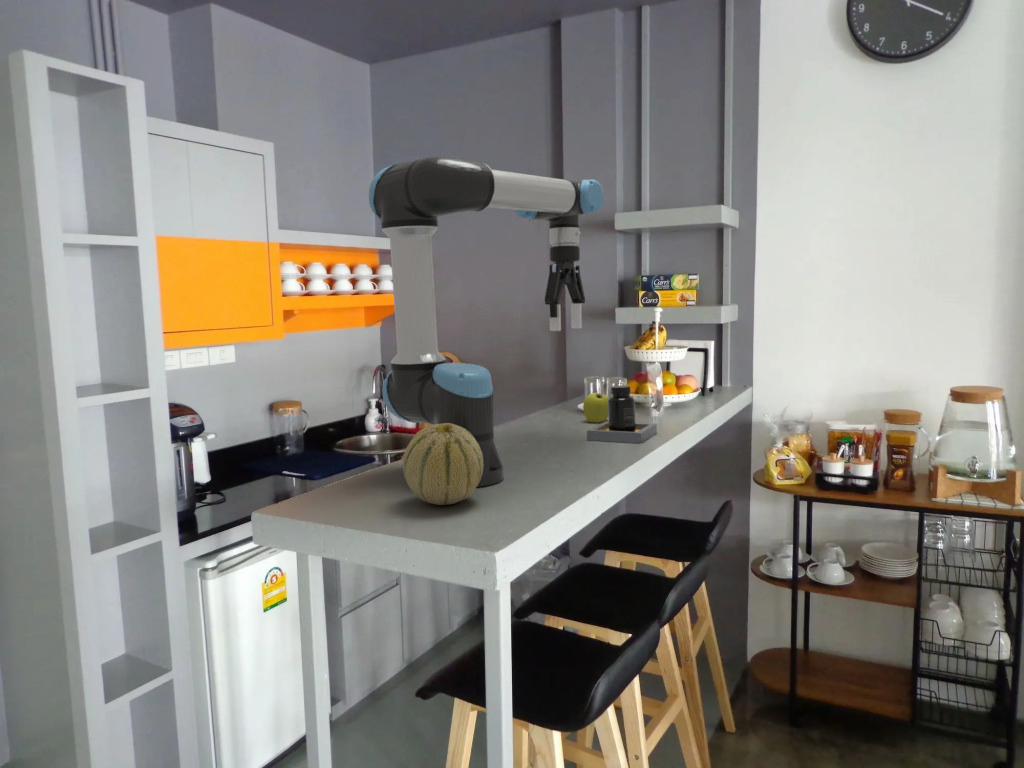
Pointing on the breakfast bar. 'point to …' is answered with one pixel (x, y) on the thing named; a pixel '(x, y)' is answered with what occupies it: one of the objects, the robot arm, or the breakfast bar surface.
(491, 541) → the breakfast bar surface
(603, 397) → the apple
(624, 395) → the supplement bottle
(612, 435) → the grey square tray
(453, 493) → the cantaloupe
